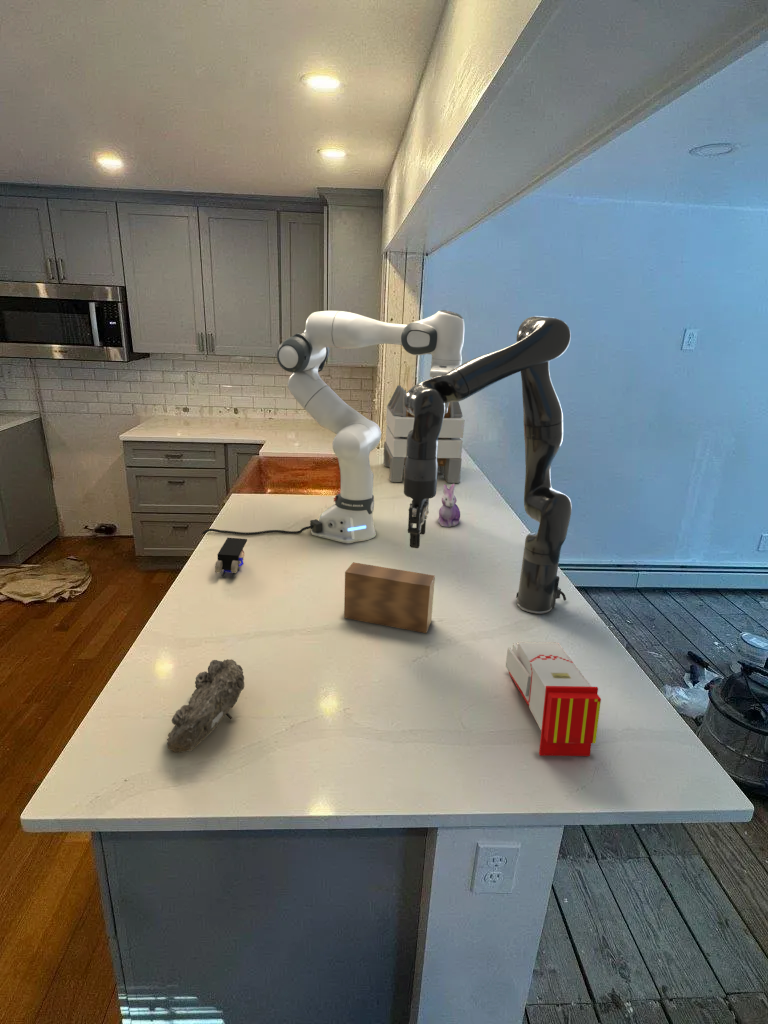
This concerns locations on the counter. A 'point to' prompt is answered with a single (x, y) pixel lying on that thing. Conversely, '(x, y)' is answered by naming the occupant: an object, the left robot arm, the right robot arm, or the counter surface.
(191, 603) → the counter surface
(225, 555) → the figurine character
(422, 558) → the counter surface
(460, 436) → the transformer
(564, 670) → the toy
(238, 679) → the fossil
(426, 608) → the box
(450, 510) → the figurine
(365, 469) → the left robot arm
